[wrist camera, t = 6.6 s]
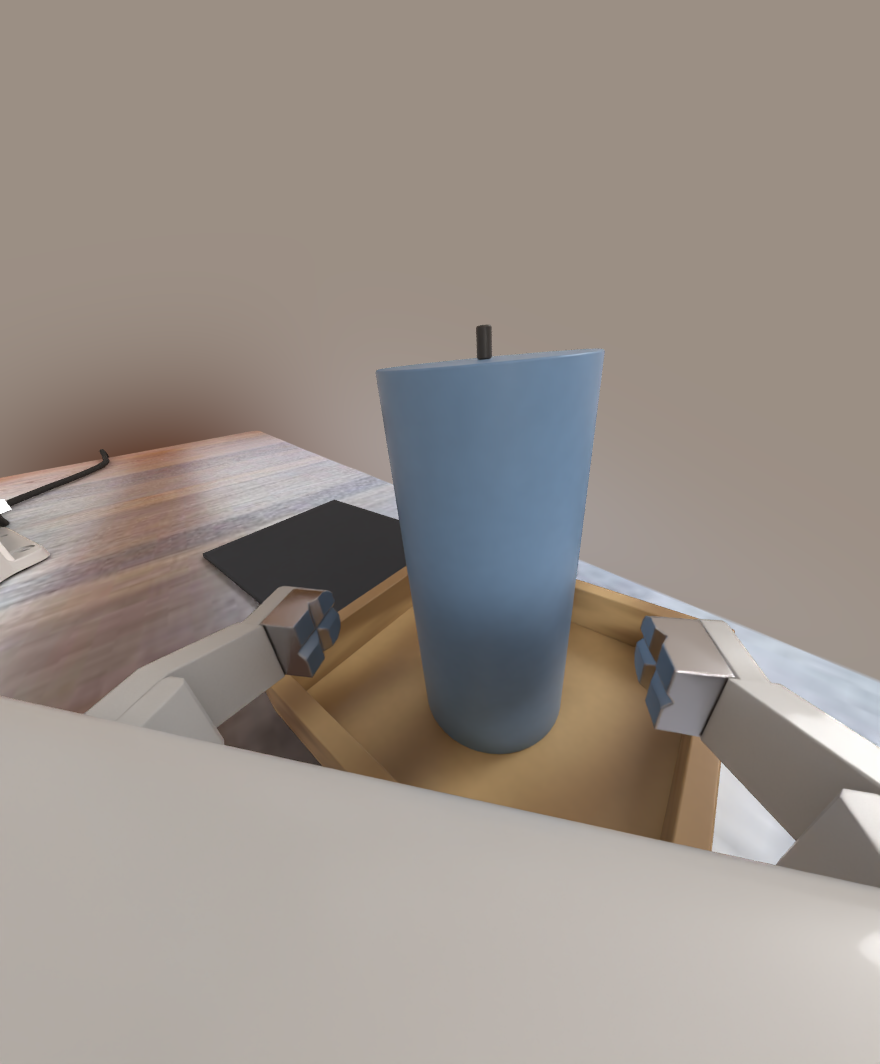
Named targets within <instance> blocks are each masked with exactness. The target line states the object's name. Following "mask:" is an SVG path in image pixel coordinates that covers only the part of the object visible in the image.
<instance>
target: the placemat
mask: <svg viewBox="0 0 880 1064" xmlns="http://www.w3.org/2000/svg"><path fill="white" fill-rule="evenodd" d="M203 556H204V557H205V558H206V559H207V560H208V561H209V562H211V563H212V564H213V565H214V566H215V567H217V568H218V569H219V570H220V571H222V572H223V573H224V574H225V575H226V576H228V577H229V578H230V579H231V580H232V581H234V582H235V583H236V584H237V585H239V586H240V587H241V588H242V589H243V590H245V591H246V592H247V593H248V594H249V595H251V596H252V597H253V598H254V599H255V600H257V601H258V602H259V603H260V604H262V603H263V602H264V601H265V600H266V599H267V598H268V597H269V596H270V595H271V594H272V593H273V592H274V591H275V590H276V589H277V588H279V587H282V586H290V587H302V588H312V589H321V590H328V591H330V592H332V593H333V596H334V599H335V603H334V605H333V608H334V609H335V610H336V611H337V612H339V611H340V610H341V609H343V608H344V607H346V606H347V605H349V604H350V603H352V602H353V601H355V600H356V599H358V598H359V597H361V596H362V595H364V594H365V593H367V592H368V591H370V590H371V589H373V588H374V587H376V586H377V585H379V584H380V583H382V582H383V581H385V580H386V579H387V578H389V577H390V576H392V575H393V574H395V573H396V572H398V571H399V570H401V569H402V568H404V567H405V566H406V559H405V553H404V547H403V541H402V534H401V528H400V522H399V520H397V519H393V518H390V517H387V516H384V515H381V514H378V513H375V512H371V511H368V510H365V509H362V508H359V507H356V506H352V505H349V504H346V503H343V502H340V501H337V500H332V501H330V502H328V503H325V504H323V505H320V506H318V507H315V508H313V509H311V510H308V511H306V512H303V513H301V514H298V515H296V516H293V517H291V518H289V519H286V520H284V521H281V522H279V523H276V524H274V525H271V526H269V527H267V528H264V529H262V530H259V531H257V532H254V533H252V534H249V535H247V536H245V537H242V538H240V539H237V540H235V541H232V542H230V543H227V544H225V545H223V546H220V547H218V548H215V549H213V550H210V551H208V552H205V553H203Z"/></svg>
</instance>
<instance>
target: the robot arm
mask: <svg viewBox="0 0 880 1064" xmlns="http://www.w3.org/2000/svg"><path fill="white" fill-rule="evenodd" d="M100 453H101V455H102V458H103V461H102V462H101V463H99V464H98V465H96V466H94V467H91V468H89V469H87V470H84V471H82V472H79V473H77V474H75V475H72V476H69V477H67V478H64V479H61V480H58V481H56V482H53V483H50V484H48V485H45V486H42V487H40V488H37V489H35V490H32V491H30V492H27V493H24V494H22V495H19V496H17V497H14V498H12V499H9V500H7V501H5V500H0V526H2V527H0V582H2V581H3V580H5V579H6V578H8V577H10V576H11V575H13V574H15V573H17V572H19V571H21V570H23V569H25V568H27V567H29V566H32V565H34V564H36V563H38V562H40V561H42V560H44V559H46V558H47V557H49V556H50V553H49V552H48V551H47V550H46V549H45V548H44V547H43V546H41V545H39V544H37V543H35V542H33V541H32V540H30V539H28V538H26V537H24V536H22V535H20V534H18V533H16V532H14V531H13V530H11V529H9V528H6V527H3V526H7V525H9V522H8V521H7V520H6V519H4V518H3V517H2V516H1V513H3V512H6V511H8V510H11V508H10V507H11V506H13V505H15V504H17V503H19V502H22V501H24V500H27V499H29V498H32V497H34V496H36V495H39V494H41V493H44V492H46V491H49V490H51V489H54V488H56V487H59V486H61V485H64V484H66V483H69V482H72V481H74V480H77V479H79V478H82V477H84V476H86V475H89V474H91V473H93V472H95V471H97V470H99V469H101V468H103V467H105V466H106V465H107V464H108V463H109V459H108V458H110V457H109V456H108V454H107V453H106V452H105V451H104V450H103V449H102V450H100ZM334 603H335V599H334V596H333V593H332V592H330V591H328V590H321V589H312V588H302V587H290V586H282V587H279V588H277V589H276V590H275V591H274V592H273V593H272V594H271V595H270V596H269V597H268V598H267V599H266V600H265V601H264V602H263V603H262V604H261V605H260V606H259V607H258V608H257V609H256V610H255V611H254V612H253V613H251V614H250V615H249V616H248V617H247V618H246V619H245V620H244V621H243V622H242V623H235V624H233V625H231V626H228V627H226V628H224V629H222V630H220V631H218V632H216V633H214V634H211V635H209V636H207V637H205V638H203V639H201V640H199V641H196V642H194V643H192V644H190V645H188V646H186V647H184V648H181V649H179V650H177V651H175V652H173V653H171V654H169V655H166V656H164V657H162V658H160V659H158V660H156V661H154V662H152V663H149V664H147V665H145V666H143V667H141V668H139V669H137V670H136V671H135V672H134V673H132V674H131V675H130V676H129V677H128V678H126V679H125V680H124V681H123V682H122V683H120V684H119V685H118V686H117V687H116V688H114V689H113V690H112V691H111V692H109V693H108V694H107V695H106V696H105V697H103V698H102V699H101V700H100V701H99V702H97V703H96V704H95V705H94V706H93V707H91V708H90V709H89V710H88V711H87V712H85V713H84V714H80V713H75V712H71V711H66V710H61V709H57V708H52V707H48V706H43V705H39V704H34V703H30V702H25V701H21V700H16V699H11V698H7V697H2V696H0V1064H880V747H878V746H876V745H875V744H873V743H872V742H870V741H869V740H867V739H866V738H864V737H862V736H861V735H859V734H858V733H856V732H855V731H853V730H851V729H850V728H848V727H847V726H845V725H844V724H842V723H840V722H839V721H837V720H836V719H834V718H833V717H831V716H830V715H828V714H826V713H825V712H823V711H822V710H820V709H819V708H817V707H815V706H814V705H812V704H811V703H809V702H808V701H806V700H805V699H803V698H801V697H800V696H798V695H797V694H795V693H794V692H792V691H790V690H789V689H787V688H786V687H784V686H783V685H781V684H776V683H771V682H770V681H769V679H768V678H767V677H766V675H765V674H764V673H763V671H762V670H761V669H760V667H759V666H758V664H757V663H756V662H755V660H754V659H753V658H752V656H751V655H750V654H749V652H748V651H747V650H746V648H745V647H744V645H743V644H742V643H741V641H740V640H739V639H738V637H737V636H736V635H735V633H734V632H733V631H732V629H731V628H730V626H729V625H728V624H727V623H725V622H724V621H722V620H706V619H695V620H694V619H684V618H670V617H657V616H645V617H644V619H643V620H642V624H641V627H640V629H641V632H642V634H643V637H644V638H642V639H641V640H639V641H638V642H637V643H636V647H635V652H634V665H635V671H636V675H637V678H638V682H639V684H640V685H641V686H643V687H644V688H645V689H646V690H647V691H648V692H647V695H646V699H645V703H646V706H647V709H648V711H649V714H650V717H651V720H652V723H653V726H654V729H657V730H662V731H668V732H674V733H680V734H685V735H691V736H697V737H701V738H700V740H701V741H702V742H703V743H704V744H705V745H706V746H707V747H708V748H709V749H710V750H711V751H712V752H713V753H714V754H715V756H716V757H717V758H718V759H719V760H720V761H721V762H722V763H723V764H724V765H725V766H726V767H727V768H728V769H729V770H730V771H731V773H732V774H733V775H734V776H735V777H736V778H737V779H738V780H739V781H740V782H741V783H742V784H743V785H744V786H745V787H746V788H747V789H748V791H749V792H750V793H751V794H752V795H753V796H754V797H755V798H756V799H757V800H758V801H759V802H760V803H761V804H762V805H763V806H764V808H765V809H766V810H767V811H768V812H769V813H770V814H771V815H772V816H773V817H774V818H775V819H776V820H777V821H778V822H779V823H780V825H781V826H782V827H783V828H784V829H785V830H786V831H787V832H788V833H789V834H790V835H791V836H792V837H793V838H794V839H795V840H796V842H795V843H794V844H793V845H792V846H791V847H790V848H789V849H788V851H787V852H786V853H785V854H784V855H783V856H782V857H781V858H780V860H779V861H778V863H777V864H776V865H772V864H768V863H763V862H758V861H754V860H749V859H745V858H740V857H735V856H731V855H726V854H722V853H717V852H712V851H708V850H703V849H699V848H694V847H689V846H685V845H680V844H676V843H671V842H666V841H662V840H657V839H653V838H648V837H644V836H639V835H634V834H630V833H625V832H621V831H616V830H611V829H607V828H602V827H598V826H593V825H589V824H584V823H580V822H575V821H570V820H566V819H561V818H557V817H552V816H548V815H543V814H538V813H534V812H529V811H525V810H520V809H516V808H511V807H506V806H502V805H497V804H493V803H488V802H484V801H479V800H474V799H470V798H465V797H461V796H456V795H452V794H447V793H442V792H438V791H433V790H429V789H424V788H419V787H415V786H410V785H406V784H401V783H396V782H392V781H387V780H383V779H378V778H373V777H369V776H364V775H360V774H355V773H350V772H346V771H341V770H337V769H332V768H327V767H323V766H318V765H314V764H309V763H305V762H300V761H295V760H291V759H286V758H282V757H277V756H272V755H268V754H263V753H259V752H254V751H249V750H245V749H240V748H236V747H231V746H226V745H224V739H223V737H222V736H221V734H220V733H219V731H218V730H217V727H218V726H219V725H221V724H222V723H223V722H225V721H226V720H227V719H229V718H230V717H231V716H233V715H234V714H235V713H237V712H238V711H239V710H241V709H242V708H243V707H245V706H246V705H247V704H249V703H250V702H251V701H253V700H254V699H255V698H257V697H258V696H259V695H261V694H262V693H263V692H265V691H266V690H267V689H269V688H270V687H271V686H273V685H274V684H275V683H277V682H278V681H279V680H281V679H282V678H283V677H285V675H293V676H301V677H310V678H313V676H314V675H315V673H316V672H317V670H318V668H319V667H320V665H321V664H322V662H323V661H324V659H325V653H324V651H326V650H327V649H329V648H330V647H332V646H333V645H334V644H335V642H336V640H337V639H338V636H339V633H340V629H341V620H340V616H339V613H338V612H337V611H336V610H335V609H334V608H333V605H334Z"/></svg>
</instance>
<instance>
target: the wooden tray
mask: <svg viewBox="0 0 880 1064" xmlns="http://www.w3.org/2000/svg"><path fill="white" fill-rule="evenodd" d="M338 613H339V616H340V620H341V629H340V633H339V636H338V639H337V640H336V642H335V644H334V645H333V646H332V647H330V648H329V649H327V650H326V651H324V653H325V659H324V661H323V662H322V664H321V665H320V667H319V668H318V670H317V672H316V673H315V675H314V676H313V678H310V677H301V676H293V675H285V677H283V678H282V679H281V680H279V681H278V682H277V683H275V684H274V685H273V686H271V687H270V688H269V689H267V690H266V693H267V695H268V697H269V699H270V701H271V703H272V705H273V707H274V709H275V711H276V712H277V713H278V714H279V716H280V717H281V718H282V719H283V720H284V721H285V723H286V724H287V725H288V726H289V727H290V729H291V730H292V731H293V732H294V733H295V734H296V736H297V737H298V738H299V739H300V740H301V742H302V743H303V744H304V745H305V746H306V747H307V749H308V750H309V751H310V752H311V753H312V755H313V756H314V757H315V758H316V759H317V760H318V762H319V763H320V764H321V765H322V766H323V767H327V768H332V769H337V770H341V771H346V772H350V773H355V774H360V775H364V776H369V777H373V778H378V779H383V780H387V781H392V782H396V783H401V784H406V785H410V786H415V787H419V788H424V789H429V790H433V791H438V792H442V793H447V794H452V795H456V796H461V797H465V798H470V799H474V800H479V801H484V802H488V803H493V804H497V805H502V806H506V807H511V808H516V809H520V810H525V811H529V812H534V813H538V814H543V815H548V816H552V817H557V818H561V819H566V820H570V821H575V822H580V823H584V824H589V825H593V826H598V827H602V828H607V829H611V830H616V831H621V832H625V833H630V834H634V835H639V836H644V837H648V838H653V839H657V840H662V841H666V842H671V843H676V844H680V845H685V846H689V847H694V848H699V849H703V850H708V851H712V843H713V834H714V824H715V815H716V805H717V796H718V786H719V777H720V768H721V761H720V760H719V759H718V758H717V757H716V756H715V754H714V753H713V752H712V751H711V750H710V749H709V748H708V747H707V746H706V745H705V744H704V743H703V742H702V741H701V740H700V738H701V737H697V736H691V735H685V734H680V733H674V732H668V731H662V730H657V729H654V726H653V723H652V720H651V717H650V714H649V711H648V709H647V706H646V703H645V699H646V695H647V692H648V691H647V690H646V689H645V688H644V687H643V686H641V685H640V684H639V682H638V678H637V675H636V671H635V665H634V652H635V647H636V643H637V642H638V641H639V640H641V639H642V638H644V637H643V634H642V632H641V629H640V627H641V624H642V620H643V619H644V617H645V616H657V617H670V618H684V619H694V620H695V619H698V618H695V617H692V616H689V615H686V614H683V613H680V612H677V611H673V610H670V609H667V608H664V607H661V606H658V605H655V604H652V603H649V602H645V601H642V600H639V599H636V598H633V597H630V596H627V595H624V594H621V593H617V592H614V591H611V590H608V589H605V588H602V587H599V586H596V585H593V584H589V583H586V582H583V581H580V580H577V579H576V584H575V592H574V600H573V608H572V616H571V624H570V632H569V640H568V648H567V656H566V664H565V672H564V680H563V688H562V696H561V704H560V710H559V714H558V717H557V719H556V722H555V724H554V725H553V727H552V728H551V730H550V731H549V732H548V733H547V735H546V736H545V737H544V738H542V739H541V740H540V741H539V742H537V743H536V744H534V745H532V746H531V747H529V748H526V749H524V750H521V751H518V752H513V753H508V754H489V753H484V752H479V751H476V750H473V749H470V748H468V747H466V746H464V745H462V744H460V743H458V742H457V741H455V740H454V739H452V738H451V737H450V736H449V735H448V734H447V733H445V732H444V730H443V729H442V728H441V727H440V726H439V724H438V723H437V721H436V720H435V718H434V716H433V714H432V712H431V710H430V706H429V703H428V697H427V691H426V685H425V678H424V672H423V666H422V660H421V653H420V647H419V641H418V635H417V628H416V622H415V616H414V609H413V603H412V597H411V591H410V584H409V578H408V572H407V566H405V567H404V568H402V569H401V570H399V571H398V572H396V573H395V574H393V575H392V576H390V577H389V578H387V579H386V580H385V581H383V582H382V583H380V584H379V585H377V586H376V587H374V588H373V589H371V590H370V591H368V592H367V593H365V594H364V595H362V596H361V597H359V598H358V599H356V600H355V601H353V602H352V603H350V604H349V605H347V606H346V607H344V608H343V609H341V610H340V611H339V612H338ZM732 631H733V632H734V633H735V631H734V630H733V629H732Z"/></svg>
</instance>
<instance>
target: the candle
mask: <svg viewBox="0 0 880 1064" xmlns="http://www.w3.org/2000/svg"><path fill="white" fill-rule="evenodd" d="M491 333H492V332H491V325H480V326H477V328H476V335H477V336H476V337H477V358H473V359H464V360H453V361H443V362H435V363H425V364H416V365H408V366H400V367H392V368H385V369H380V370H377V371H376V378H377V384H378V390H379V397H380V403H381V409H382V415H383V422H384V428H385V434H386V441H387V447H388V453H389V459H390V465H391V472H392V478H393V484H394V491H395V497H396V503H397V509H398V516H399V522H400V528H401V534H402V541H403V547H404V553H405V559H406V566H407V572H408V578H409V584H410V591H411V597H412V603H413V609H414V616H415V622H416V628H417V635H418V641H419V647H420V653H421V660H422V666H423V672H424V678H425V685H426V691H427V697H428V703H429V706H430V710H431V712H432V714H433V716H434V718H435V720H436V721H437V723H438V724H439V726H440V727H441V728H442V729H443V730H444V732H445V733H447V734H448V735H449V736H450V737H451V738H452V739H454V740H455V741H457V742H458V743H460V744H462V745H464V746H466V747H468V748H470V749H473V750H476V751H479V752H484V753H489V754H508V753H513V752H518V751H521V750H524V749H526V748H529V747H531V746H532V745H534V744H536V743H537V742H539V741H540V740H541V739H542V738H544V737H545V736H546V735H547V733H548V732H549V731H550V730H551V728H552V727H553V725H554V724H555V722H556V719H557V717H558V714H559V710H560V704H561V696H562V688H563V680H564V672H565V664H566V656H567V648H568V640H569V632H570V624H571V616H572V608H573V600H574V592H575V584H576V576H577V568H578V560H579V552H580V544H581V536H582V528H583V520H584V512H585V504H586V496H587V488H588V479H589V472H590V464H591V456H592V448H593V440H594V432H595V424H596V415H597V407H598V400H599V392H600V384H601V376H602V368H603V360H604V352H605V351H604V349H580V350H565V351H552V352H539V353H527V354H517V355H505V356H494V357H492V334H491Z"/></svg>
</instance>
